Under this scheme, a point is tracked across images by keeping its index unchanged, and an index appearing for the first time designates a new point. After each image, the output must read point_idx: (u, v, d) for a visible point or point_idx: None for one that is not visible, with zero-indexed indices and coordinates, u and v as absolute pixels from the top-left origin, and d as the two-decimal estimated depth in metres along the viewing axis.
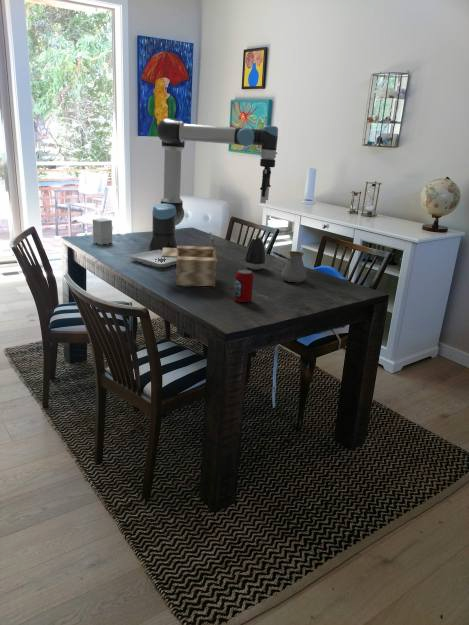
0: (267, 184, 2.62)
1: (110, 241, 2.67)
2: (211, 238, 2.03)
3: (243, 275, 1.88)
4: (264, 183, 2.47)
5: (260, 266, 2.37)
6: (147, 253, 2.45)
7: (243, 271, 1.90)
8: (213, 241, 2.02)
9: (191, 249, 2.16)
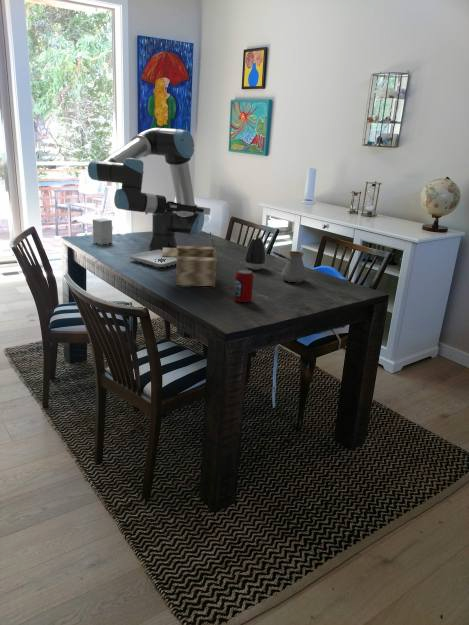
0: None
1: (110, 241, 2.67)
2: (211, 238, 2.03)
3: (243, 275, 1.88)
4: None
5: (260, 266, 2.37)
6: (147, 253, 2.45)
7: (243, 271, 1.90)
8: (213, 241, 2.02)
9: (191, 249, 2.16)
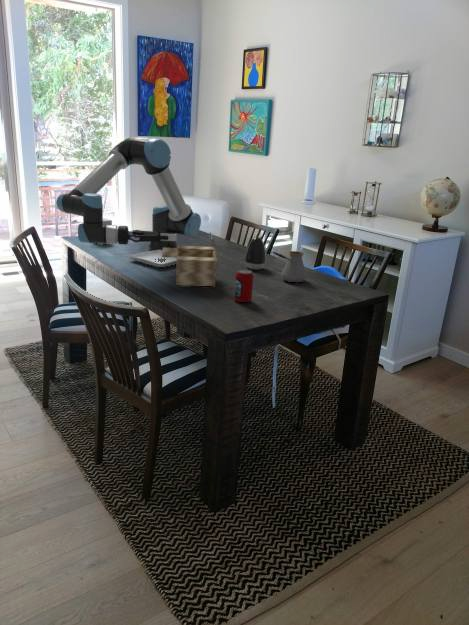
0: None
1: None
2: (211, 238, 2.03)
3: (243, 275, 1.88)
4: None
5: (260, 266, 2.37)
6: (147, 253, 2.45)
7: (243, 271, 1.90)
8: (213, 241, 2.02)
9: (191, 249, 2.16)
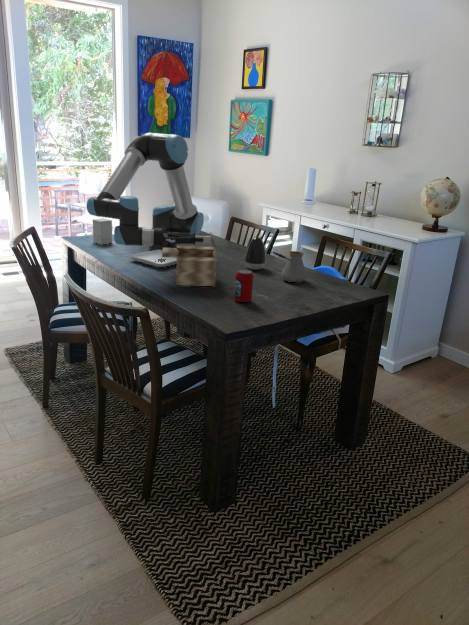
0: None
1: (110, 241, 2.67)
2: (211, 238, 2.03)
3: (243, 275, 1.88)
4: None
5: (260, 266, 2.37)
6: (147, 253, 2.45)
7: (243, 271, 1.90)
8: (213, 241, 2.02)
9: (191, 249, 2.16)
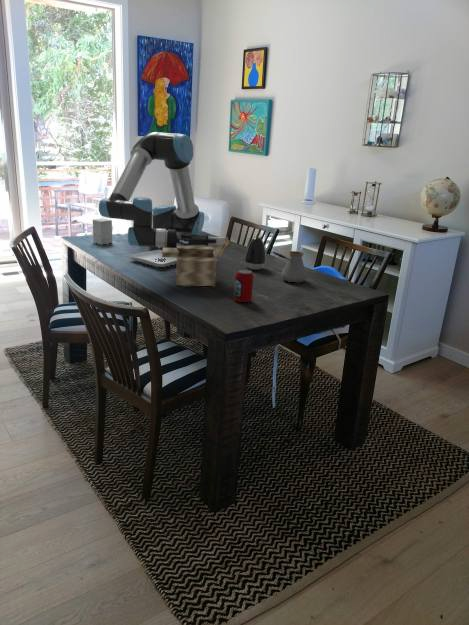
0: None
1: (110, 241, 2.67)
2: (229, 242, 2.04)
3: (243, 275, 1.88)
4: None
5: (260, 266, 2.37)
6: (147, 253, 2.45)
7: (243, 271, 1.90)
8: (228, 245, 2.03)
9: (191, 249, 2.16)
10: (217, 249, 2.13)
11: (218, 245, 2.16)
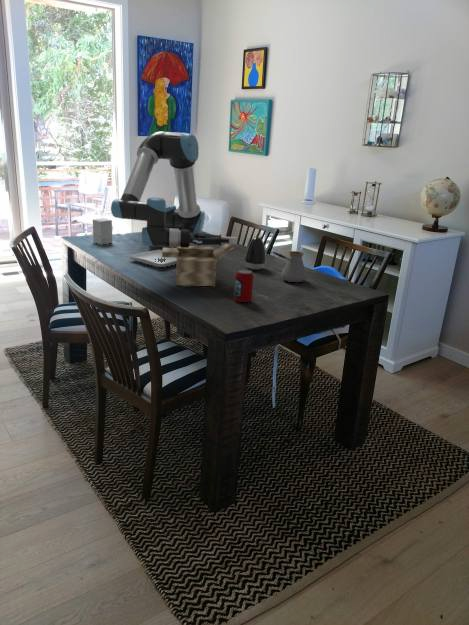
0: None
1: (110, 241, 2.67)
2: (233, 248, 2.05)
3: (243, 275, 1.88)
4: None
5: (260, 266, 2.37)
6: (147, 253, 2.45)
7: (243, 271, 1.90)
8: None
9: (191, 249, 2.16)
10: (218, 250, 2.13)
11: (220, 247, 2.16)
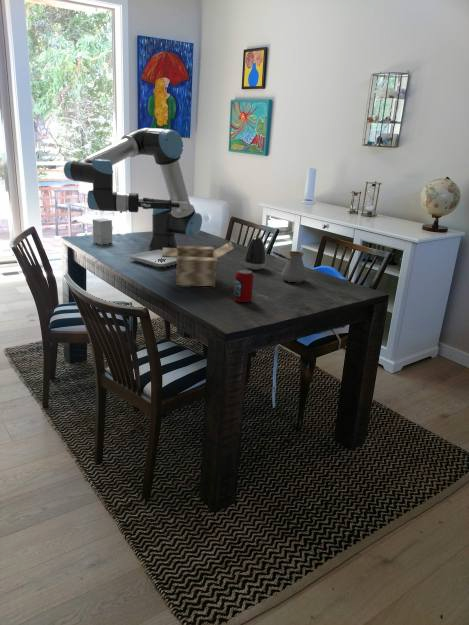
0: None
1: (110, 241, 2.67)
2: (233, 248, 2.05)
3: (243, 275, 1.88)
4: None
5: (260, 266, 2.37)
6: (147, 253, 2.45)
7: (243, 271, 1.90)
8: None
9: (191, 249, 2.16)
10: (218, 250, 2.13)
11: (220, 247, 2.16)
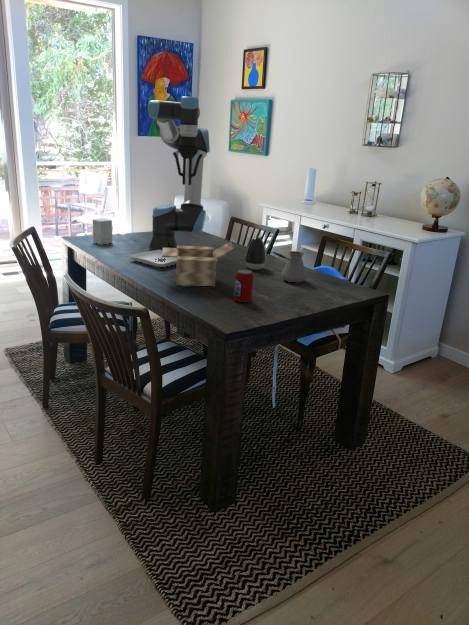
0: (188, 172, 2.18)
1: (110, 241, 2.67)
2: (233, 248, 2.05)
3: (243, 275, 1.88)
4: None
5: (260, 266, 2.37)
6: (147, 253, 2.45)
7: (243, 271, 1.90)
8: None
9: (191, 249, 2.16)
10: (218, 250, 2.13)
11: (220, 247, 2.16)
